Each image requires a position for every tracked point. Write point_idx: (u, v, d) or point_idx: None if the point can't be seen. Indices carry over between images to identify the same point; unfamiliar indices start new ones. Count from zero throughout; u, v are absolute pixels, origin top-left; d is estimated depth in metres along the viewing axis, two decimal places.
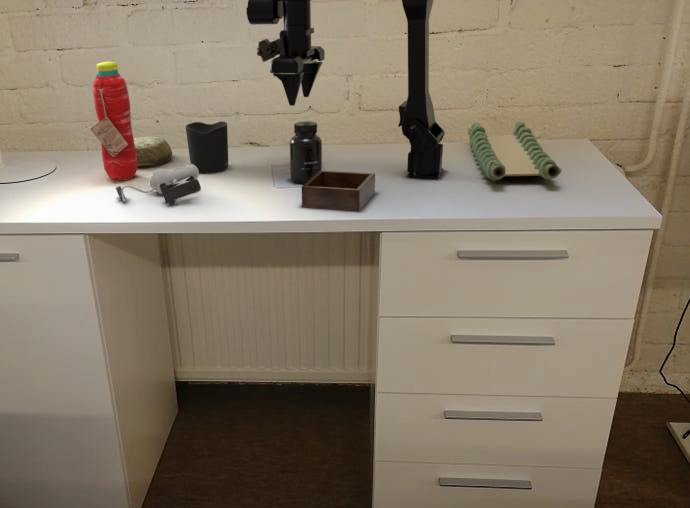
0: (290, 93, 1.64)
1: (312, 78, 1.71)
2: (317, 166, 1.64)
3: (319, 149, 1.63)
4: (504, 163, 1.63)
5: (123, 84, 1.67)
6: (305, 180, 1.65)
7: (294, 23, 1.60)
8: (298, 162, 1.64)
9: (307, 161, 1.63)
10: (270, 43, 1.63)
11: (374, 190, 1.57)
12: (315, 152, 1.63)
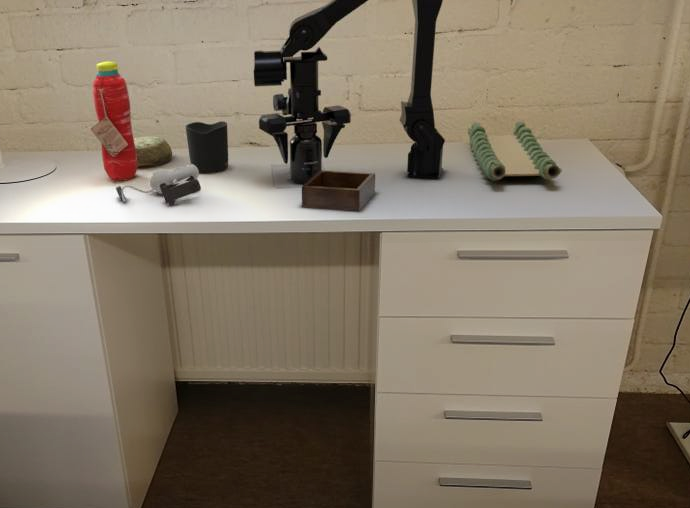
0: (281, 151, 1.63)
1: (329, 140, 1.65)
2: (317, 166, 1.64)
3: (319, 149, 1.63)
4: (504, 163, 1.63)
5: (123, 84, 1.67)
6: (305, 180, 1.65)
7: (306, 84, 1.56)
8: (298, 162, 1.64)
9: (307, 161, 1.63)
10: (281, 99, 1.64)
11: (374, 190, 1.57)
12: (315, 152, 1.63)
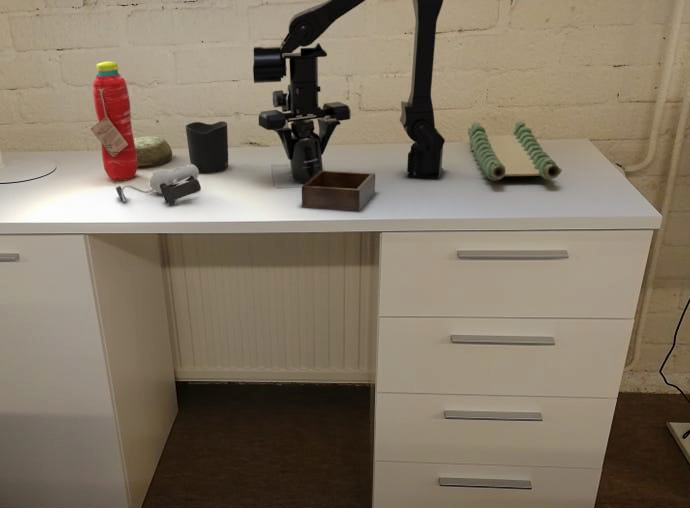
0: (285, 147, 1.63)
1: (324, 137, 1.64)
2: (317, 163, 1.64)
3: (318, 146, 1.63)
4: (504, 163, 1.63)
5: (123, 84, 1.67)
6: (307, 178, 1.65)
7: (306, 80, 1.56)
8: (298, 162, 1.63)
9: (307, 159, 1.63)
10: (281, 95, 1.63)
11: (374, 190, 1.57)
12: (314, 150, 1.62)
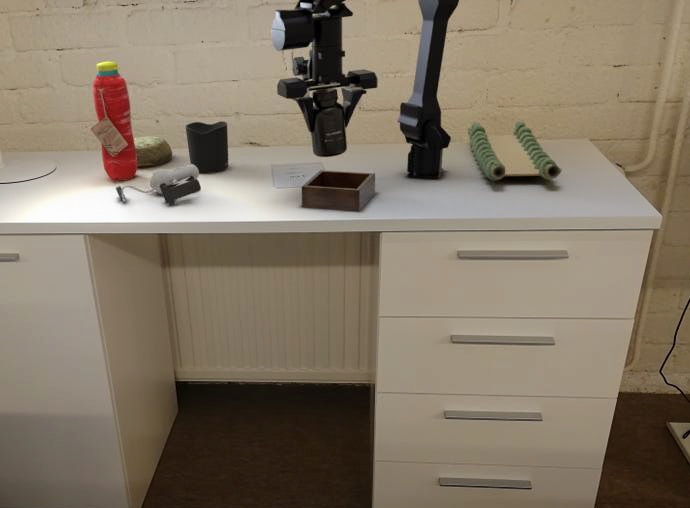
0: (306, 119, 1.50)
1: (349, 107, 1.50)
2: (341, 136, 1.51)
3: (342, 117, 1.50)
4: (504, 163, 1.63)
5: (123, 84, 1.67)
6: (329, 153, 1.52)
7: (336, 43, 1.43)
8: (320, 134, 1.50)
9: (329, 132, 1.49)
10: (302, 62, 1.50)
11: (374, 190, 1.57)
12: (337, 121, 1.49)
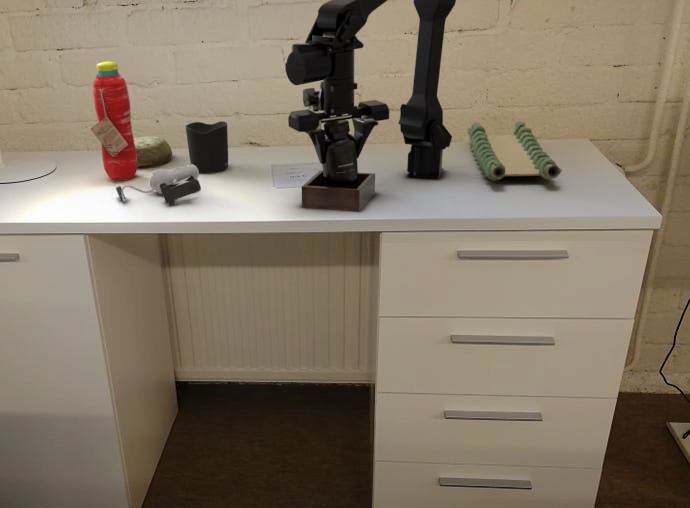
0: (317, 150, 1.49)
1: (360, 139, 1.49)
2: (353, 168, 1.49)
3: (354, 149, 1.48)
4: (504, 163, 1.63)
5: (123, 84, 1.67)
6: (341, 185, 1.50)
7: (350, 75, 1.41)
8: (332, 166, 1.49)
9: (341, 164, 1.48)
10: (313, 93, 1.48)
11: (374, 190, 1.57)
12: (349, 153, 1.48)
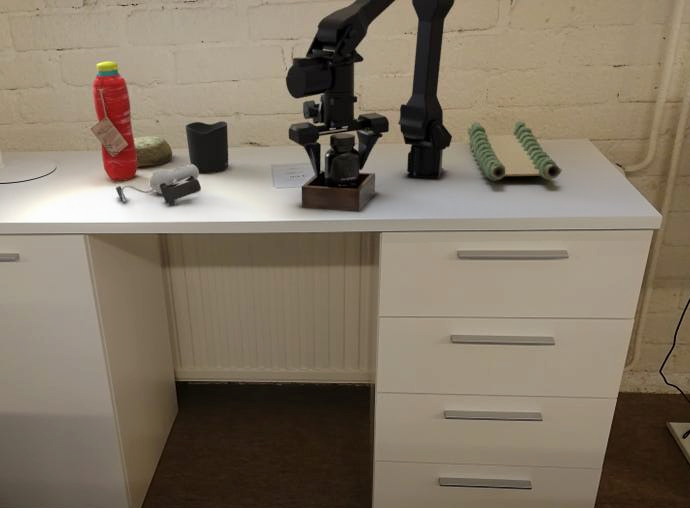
0: (313, 163, 1.49)
1: (365, 150, 1.50)
2: (355, 182, 1.51)
3: (357, 164, 1.50)
4: (504, 163, 1.63)
5: (123, 84, 1.67)
6: None
7: (350, 89, 1.43)
8: (335, 178, 1.50)
9: (344, 176, 1.49)
10: (313, 106, 1.50)
11: (374, 190, 1.57)
12: (352, 167, 1.49)
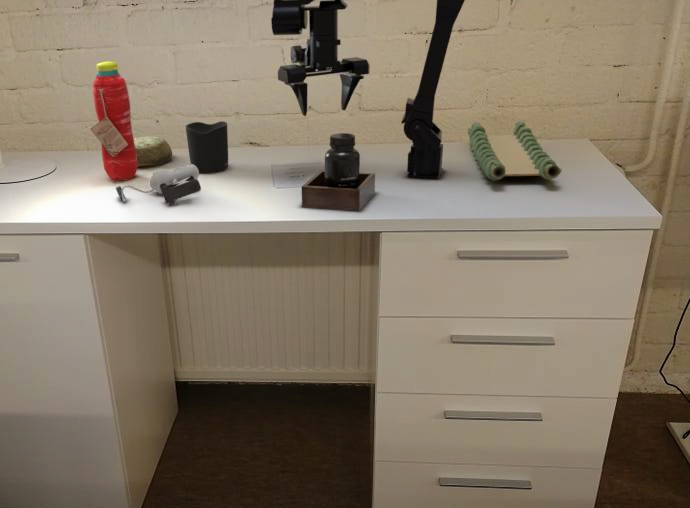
0: (300, 103, 1.62)
1: (348, 91, 1.64)
2: (355, 182, 1.51)
3: (357, 164, 1.50)
4: (504, 163, 1.63)
5: (123, 84, 1.67)
6: None
7: (323, 33, 1.55)
8: (335, 178, 1.50)
9: (344, 176, 1.49)
10: (300, 50, 1.63)
11: (374, 190, 1.57)
12: (352, 167, 1.49)
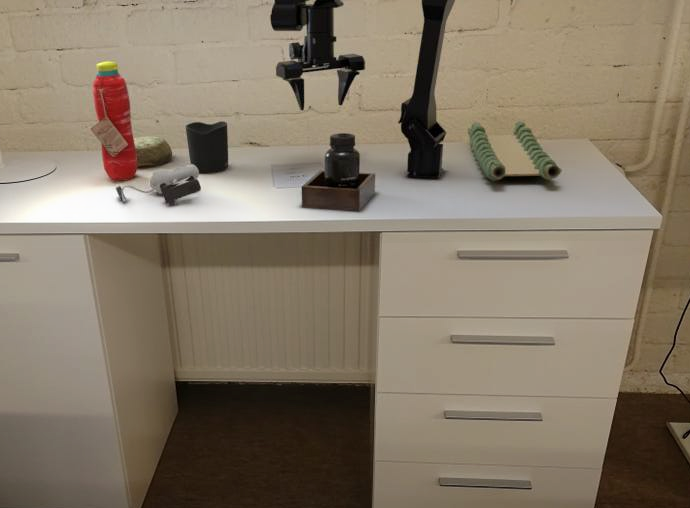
0: (297, 98, 1.68)
1: (344, 87, 1.69)
2: (355, 182, 1.51)
3: (357, 164, 1.50)
4: (504, 163, 1.63)
5: (123, 84, 1.67)
6: None
7: (316, 30, 1.61)
8: (335, 178, 1.50)
9: (344, 176, 1.49)
10: (298, 47, 1.68)
11: (374, 190, 1.57)
12: (352, 167, 1.49)
